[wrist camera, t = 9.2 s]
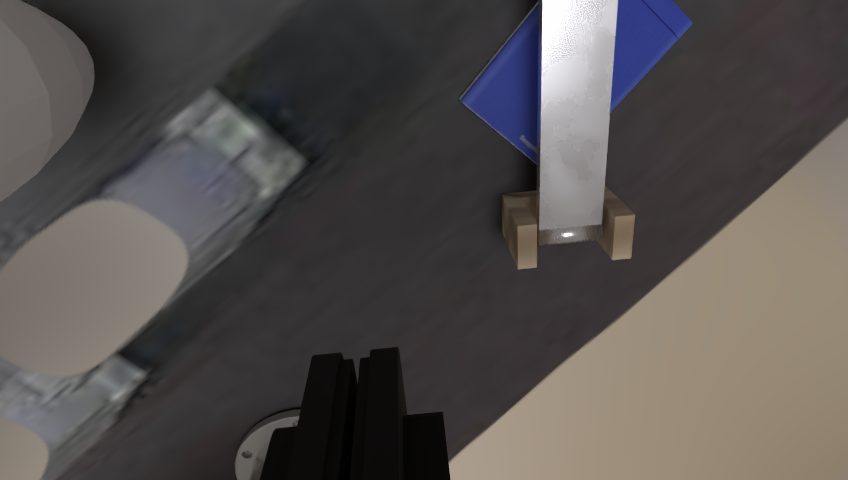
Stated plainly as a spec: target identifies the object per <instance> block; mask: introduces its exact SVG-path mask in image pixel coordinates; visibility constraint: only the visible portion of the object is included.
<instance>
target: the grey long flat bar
mask: <svg viewBox="0 0 848 480" xmlns="http://www.w3.org/2000/svg"><path fill="white" fill-rule="evenodd" d="M617 7H618V0H539V38H538V121H537V204H536V223H537V245H538V246H546V245H557V244H567V243H577V242H587V241H598V240H601V239H602V237H603V227H602V215H603V202H604V188H605V174H606V160H607V146H608V132H609V118H610V104H611V91H612V77H613V63H614V49H615V35H616V21H617Z"/></svg>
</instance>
